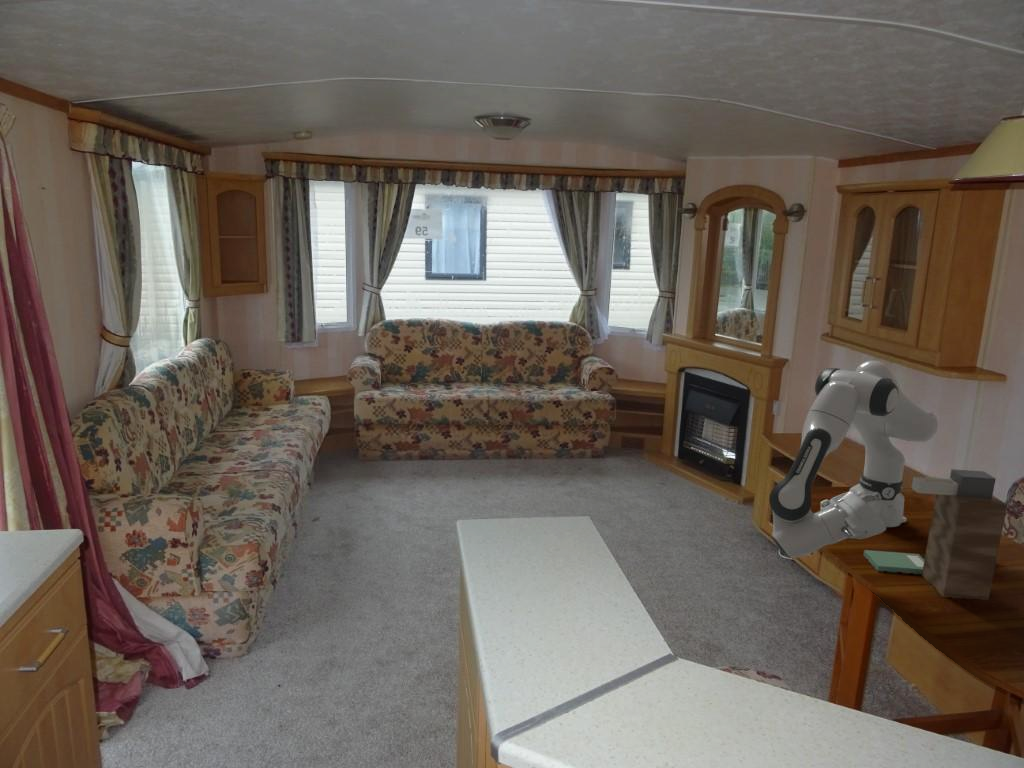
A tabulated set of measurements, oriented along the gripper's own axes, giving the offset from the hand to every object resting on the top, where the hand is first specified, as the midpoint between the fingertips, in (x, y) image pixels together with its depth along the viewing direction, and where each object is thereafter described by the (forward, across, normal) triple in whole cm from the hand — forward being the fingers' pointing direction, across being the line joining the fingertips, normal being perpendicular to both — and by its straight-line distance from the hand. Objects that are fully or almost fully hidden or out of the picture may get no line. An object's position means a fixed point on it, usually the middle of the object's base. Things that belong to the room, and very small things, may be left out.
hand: (887, 501), depth 189 cm
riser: (+6, 0, +30) cm, 30 cm away
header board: (-2, +11, +25) cm, 27 cm away
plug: (+15, 0, +5) cm, 15 cm away
